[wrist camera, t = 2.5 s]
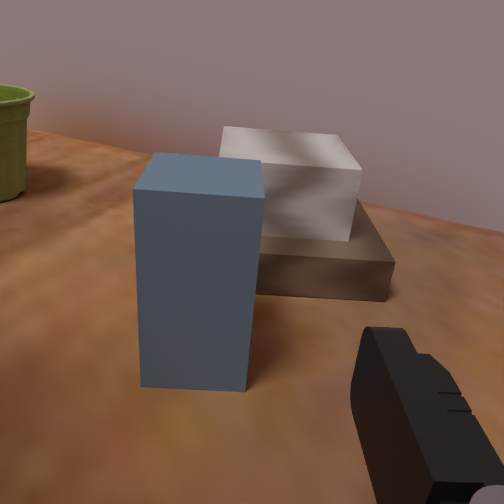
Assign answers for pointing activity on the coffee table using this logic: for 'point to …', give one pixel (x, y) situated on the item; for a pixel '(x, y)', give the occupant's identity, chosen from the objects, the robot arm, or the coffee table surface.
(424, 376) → the robot arm
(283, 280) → the tower base
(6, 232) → the coffee table surface
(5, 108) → the plant pot
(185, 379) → the slate brick
